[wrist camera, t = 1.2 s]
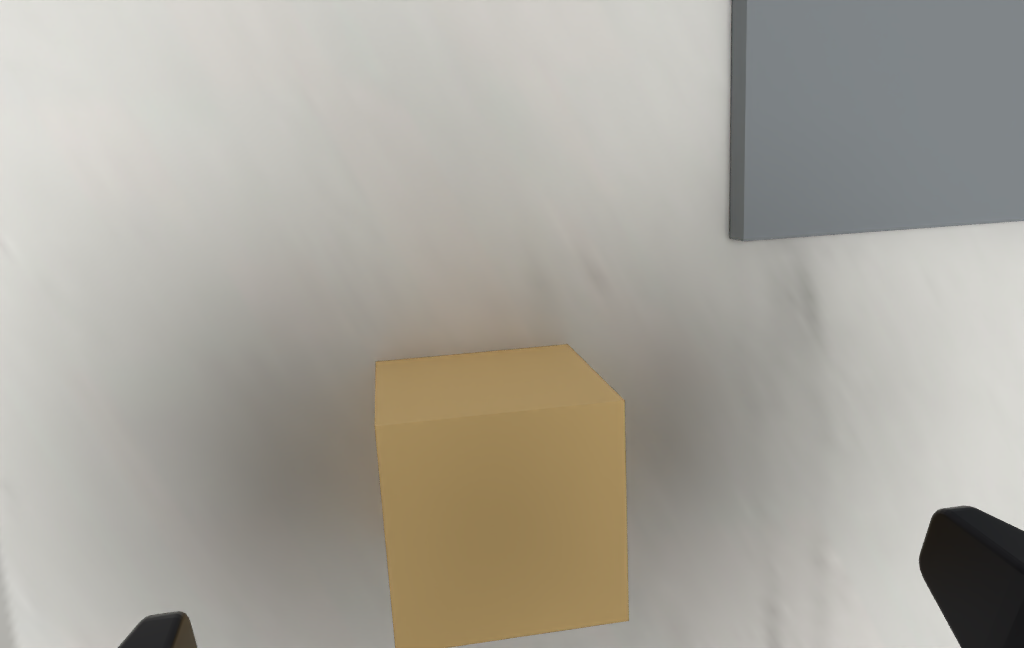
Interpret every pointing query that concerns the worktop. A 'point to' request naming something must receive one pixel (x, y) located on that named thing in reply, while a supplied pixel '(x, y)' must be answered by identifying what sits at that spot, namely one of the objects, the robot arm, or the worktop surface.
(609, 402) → the ochre cube
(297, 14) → the worktop surface
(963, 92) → the grey mat
